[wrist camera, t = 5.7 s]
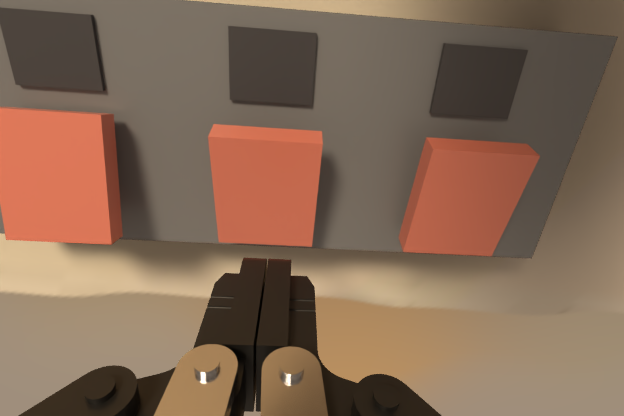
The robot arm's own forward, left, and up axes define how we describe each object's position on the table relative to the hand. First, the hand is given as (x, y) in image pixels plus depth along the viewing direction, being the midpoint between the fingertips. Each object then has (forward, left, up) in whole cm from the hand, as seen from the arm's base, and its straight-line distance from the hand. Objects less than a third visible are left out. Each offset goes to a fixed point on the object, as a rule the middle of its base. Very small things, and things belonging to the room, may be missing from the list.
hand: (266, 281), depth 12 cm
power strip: (0, -4, -9) cm, 10 cm away
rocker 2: (-1, -1, -4) cm, 5 cm away
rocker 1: (+5, -7, -4) cm, 10 cm away
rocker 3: (-7, +4, -4) cm, 9 cm away
